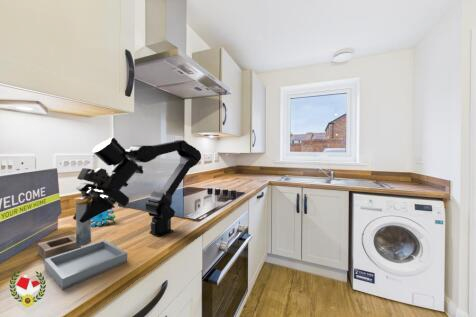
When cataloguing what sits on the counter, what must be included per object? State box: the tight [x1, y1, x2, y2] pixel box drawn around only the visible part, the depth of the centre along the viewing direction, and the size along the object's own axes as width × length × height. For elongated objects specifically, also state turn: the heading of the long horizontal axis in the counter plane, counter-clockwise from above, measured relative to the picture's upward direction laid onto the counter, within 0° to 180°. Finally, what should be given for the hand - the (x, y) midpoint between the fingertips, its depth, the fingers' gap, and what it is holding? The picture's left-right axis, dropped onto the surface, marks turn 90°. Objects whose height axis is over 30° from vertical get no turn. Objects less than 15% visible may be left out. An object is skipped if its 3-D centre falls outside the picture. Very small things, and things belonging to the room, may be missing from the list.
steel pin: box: [73, 196, 92, 247], centre depth 53 cm, size 4×4×12 cm
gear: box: [91, 208, 116, 228], centre depth 84 cm, size 11×6×10 cm
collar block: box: [37, 234, 82, 262], centre depth 59 cm, size 8×8×3 cm
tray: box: [44, 239, 128, 291], centre depth 53 cm, size 14×14×2 cm
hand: (77, 220), depth 52 cm, fingers closed on steel pin, 3 cm apart
